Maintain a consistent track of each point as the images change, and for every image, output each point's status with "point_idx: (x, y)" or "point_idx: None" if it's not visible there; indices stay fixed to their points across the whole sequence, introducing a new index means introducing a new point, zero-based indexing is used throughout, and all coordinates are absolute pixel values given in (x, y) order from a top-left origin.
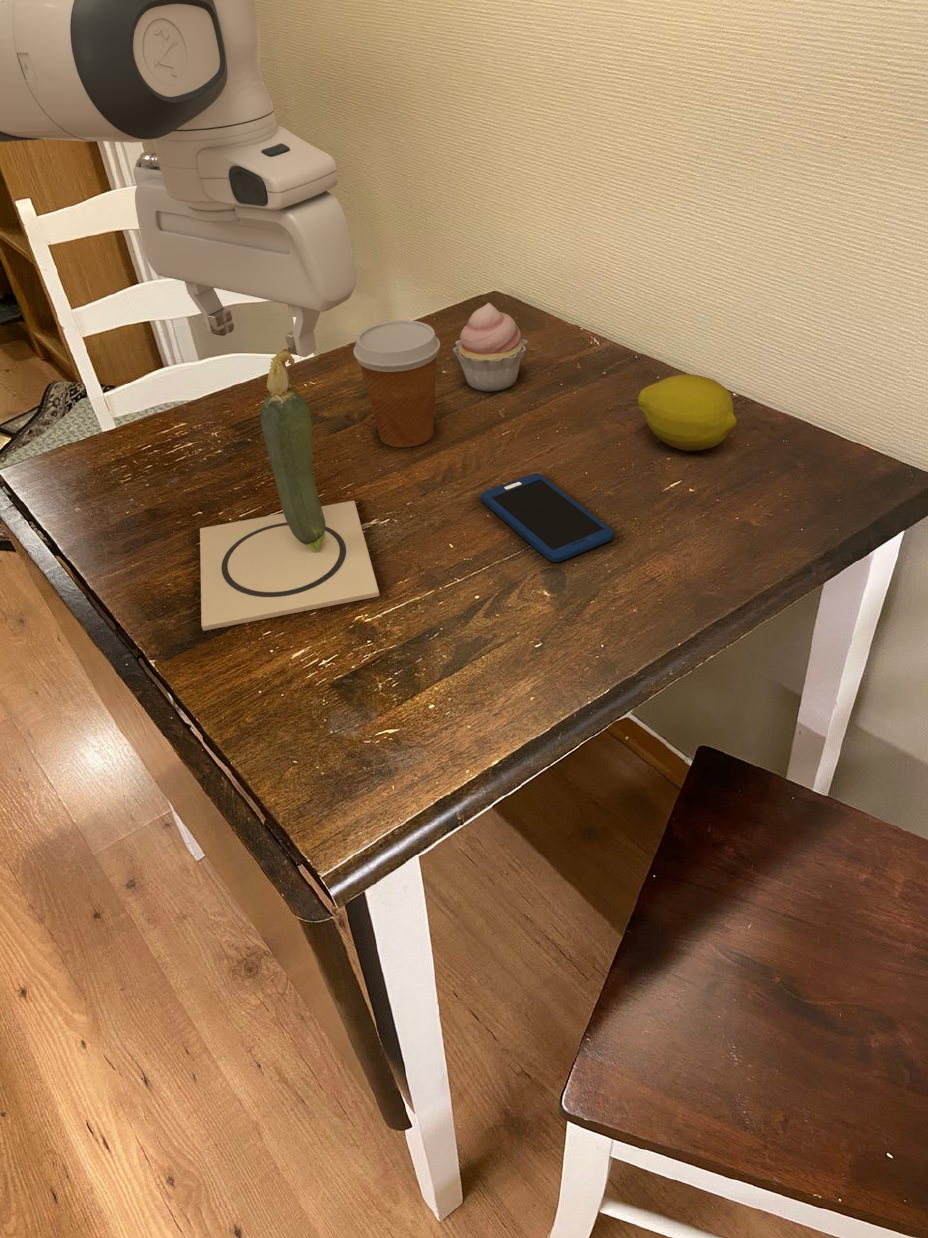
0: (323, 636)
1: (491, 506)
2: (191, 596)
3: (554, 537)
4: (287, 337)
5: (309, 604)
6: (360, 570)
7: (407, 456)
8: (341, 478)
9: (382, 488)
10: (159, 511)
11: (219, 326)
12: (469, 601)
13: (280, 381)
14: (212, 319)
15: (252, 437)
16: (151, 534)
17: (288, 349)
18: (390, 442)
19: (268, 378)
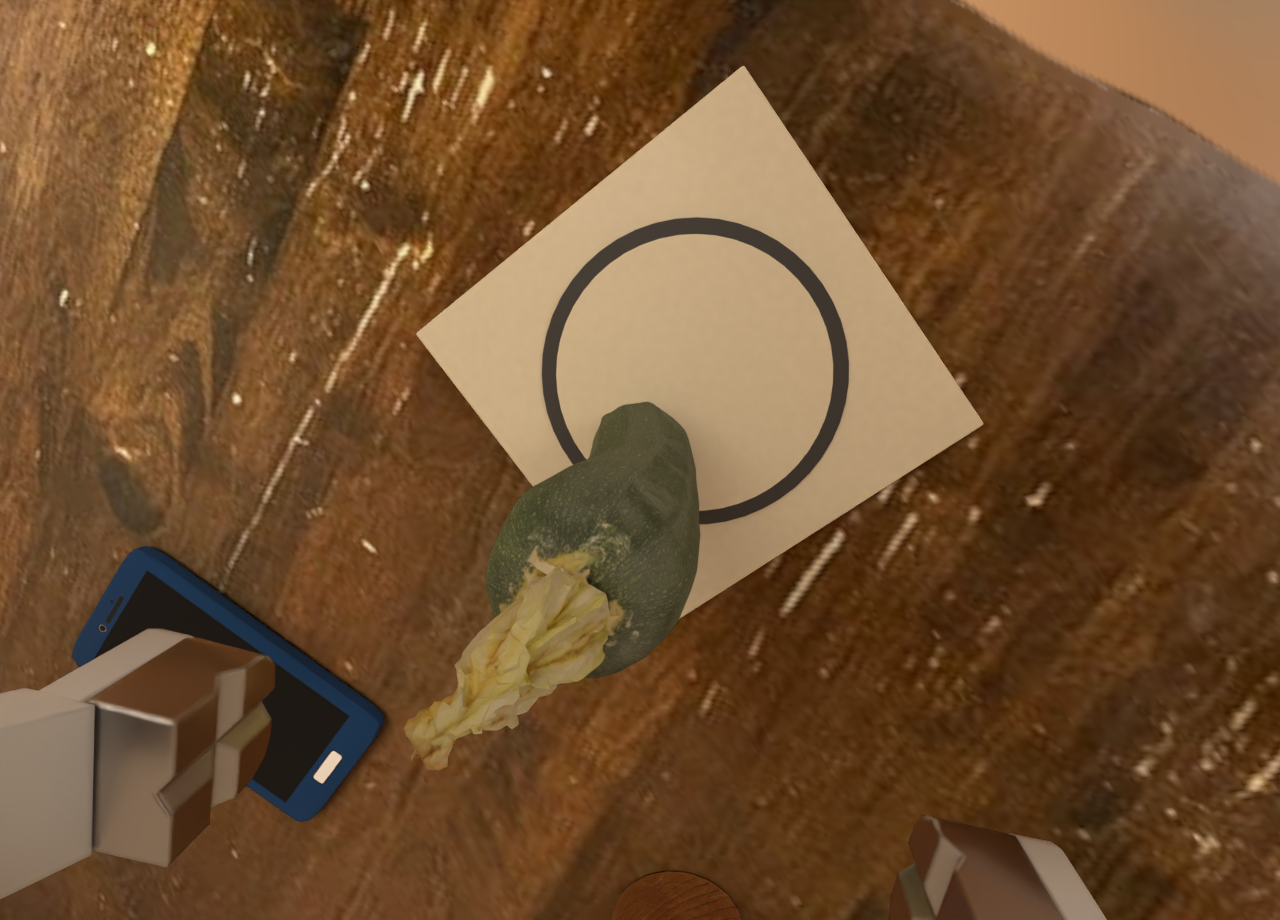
0: (464, 163)
1: (338, 687)
2: (851, 179)
3: (163, 611)
4: (170, 706)
5: (537, 236)
6: (492, 390)
7: (630, 841)
8: (740, 725)
9: (622, 708)
10: (1159, 475)
11: (949, 875)
12: (243, 380)
13: (506, 611)
14: (1010, 910)
15: (1081, 847)
16: (1120, 375)
17: (245, 659)
18: (688, 880)
19: (575, 617)
